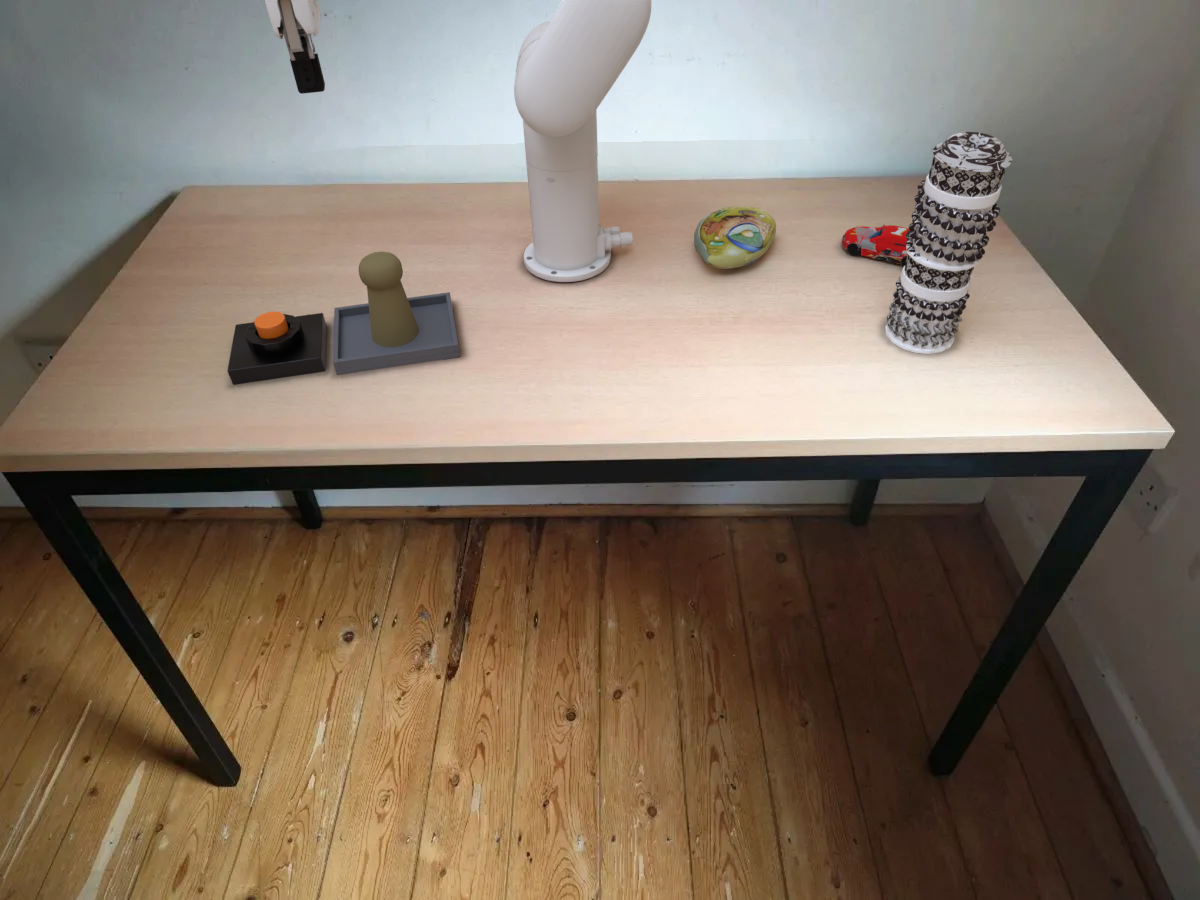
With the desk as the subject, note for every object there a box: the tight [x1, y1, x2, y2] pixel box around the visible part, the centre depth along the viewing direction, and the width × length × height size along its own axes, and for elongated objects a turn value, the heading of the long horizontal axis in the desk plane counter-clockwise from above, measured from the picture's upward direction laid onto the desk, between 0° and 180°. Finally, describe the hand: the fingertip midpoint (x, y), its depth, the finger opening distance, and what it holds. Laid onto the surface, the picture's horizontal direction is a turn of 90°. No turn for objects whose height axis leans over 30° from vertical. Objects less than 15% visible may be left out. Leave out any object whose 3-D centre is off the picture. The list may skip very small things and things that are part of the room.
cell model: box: [693, 206, 777, 269], centre depth 119 cm, size 11×8×15 cm
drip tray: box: [332, 291, 461, 376], centre depth 107 cm, size 15×12×2 cm
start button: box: [254, 311, 289, 339], centre depth 103 cm, size 4×4×2 cm
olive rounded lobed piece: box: [358, 251, 419, 347], centre depth 103 cm, size 6×6×11 cm
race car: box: [841, 224, 911, 268], centre depth 119 cm, size 13×5×4 cm, turn 60°
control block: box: [226, 312, 328, 386], centre depth 104 cm, size 11×10×4 cm
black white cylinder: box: [884, 131, 1013, 355], centre depth 97 cm, size 9×9×25 cm
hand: (312, 89), depth 104 cm, fingers closed
